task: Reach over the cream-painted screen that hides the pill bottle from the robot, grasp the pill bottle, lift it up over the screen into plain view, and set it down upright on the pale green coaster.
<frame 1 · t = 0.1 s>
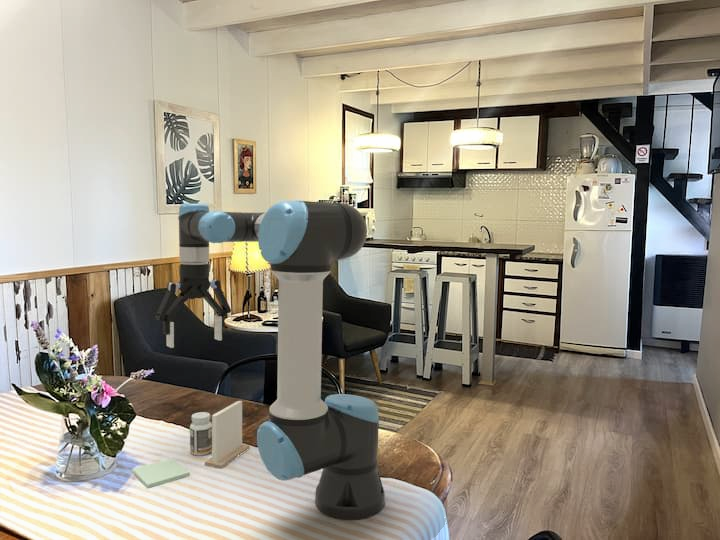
hand: (194, 343, 147), 28 cm above the table, fingers open, 13 cm apart
screen: (227, 456, 143), on the table
coaster: (160, 473, 133), on the table
pill bottle: (201, 452, 146), on the table
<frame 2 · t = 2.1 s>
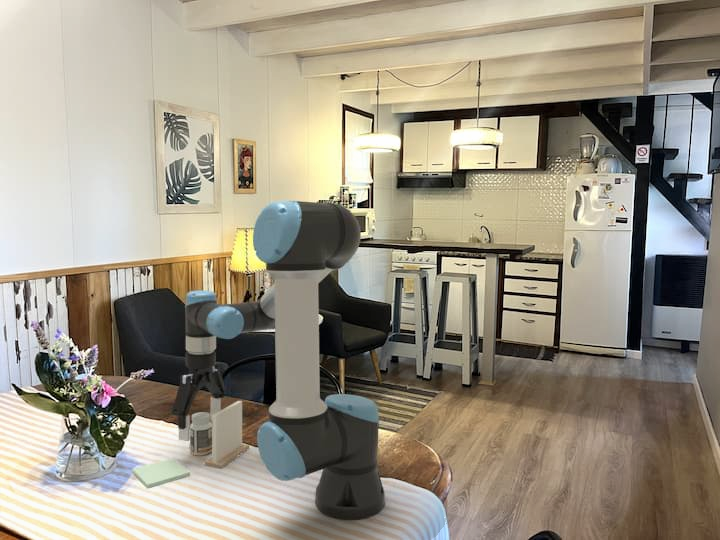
hand: (200, 430, 145), 6 cm above the table, fingers open, 13 cm apart
nothing on the table moved.
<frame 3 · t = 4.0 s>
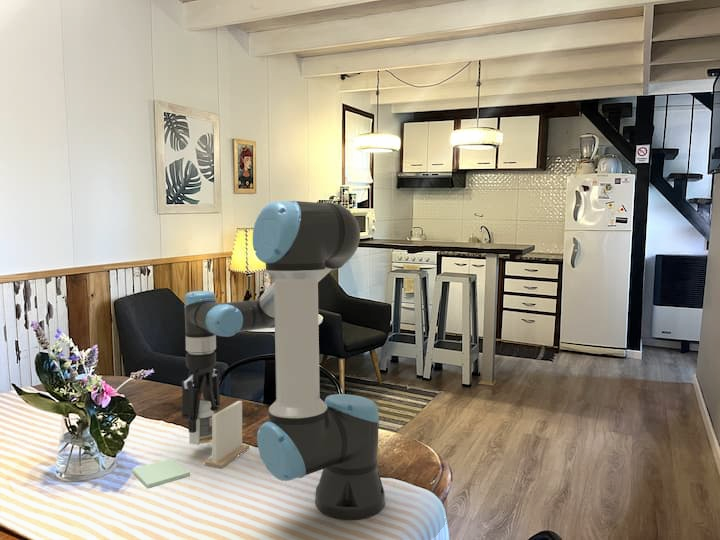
hand: (202, 438, 145), 4 cm above the table, fingers closed on pill bottle, 6 cm apart
pill bottle: (202, 441, 145), point 3 cm above the table, touching gripper
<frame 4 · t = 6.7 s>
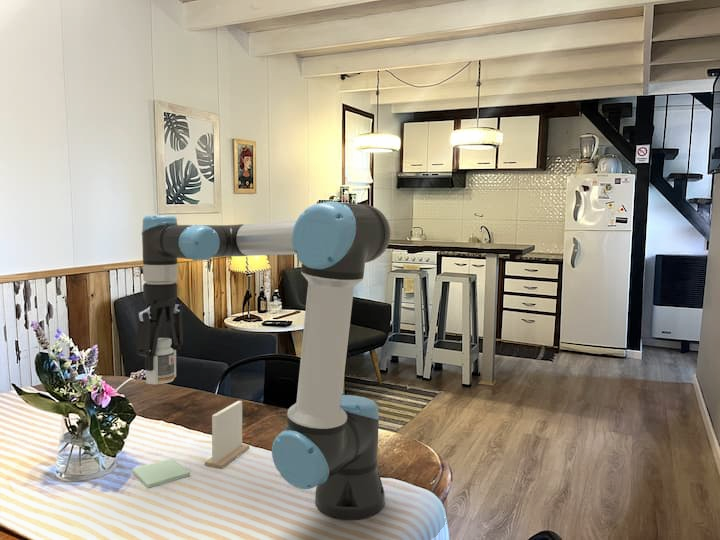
hand: (161, 379, 131), 23 cm above the table, fingers closed on pill bottle, 6 cm apart
pill bottle: (161, 381, 131), point 22 cm above the table, touching gripper
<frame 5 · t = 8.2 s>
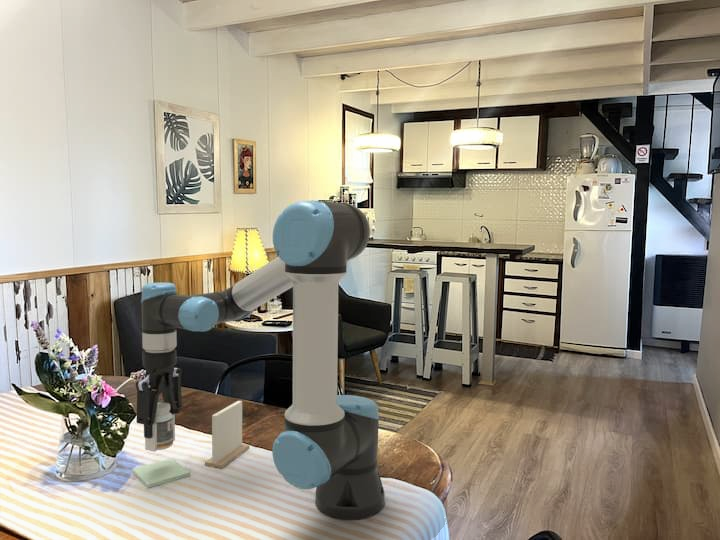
hand: (160, 444, 132), 7 cm above the table, fingers closed on pill bottle, 6 cm apart
pill bottle: (160, 446, 132), point 7 cm above the table, touching gripper
when the fingers open (2 cm above the table, at t = 9.5 s): pill bottle stays where it is, resting on coaster.
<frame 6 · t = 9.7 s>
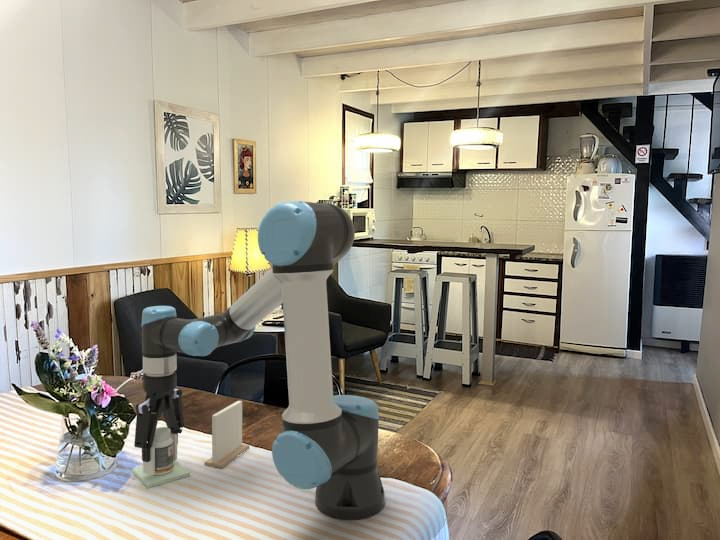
hand: (160, 466, 132), 2 cm above the table, fingers open, 7 cm apart
pill bottle: (160, 471, 133), point 1 cm above the table, touching coaster
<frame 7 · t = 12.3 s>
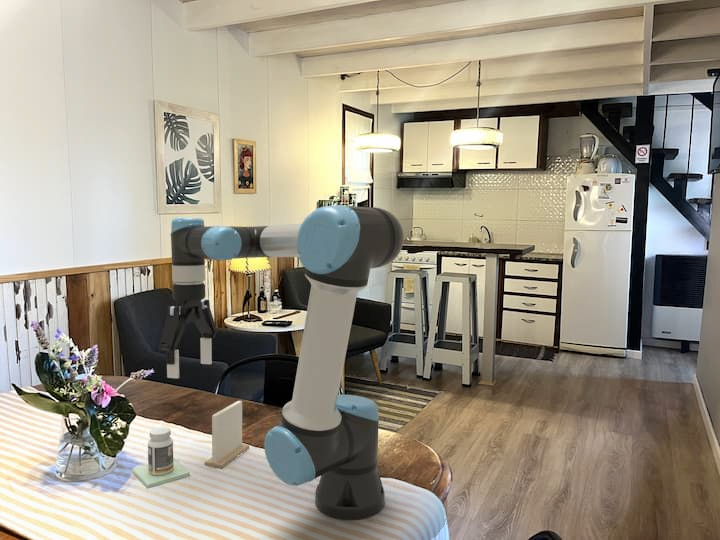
hand: (190, 370, 134), 24 cm above the table, fingers open, 13 cm apart
nothing on the table moved.
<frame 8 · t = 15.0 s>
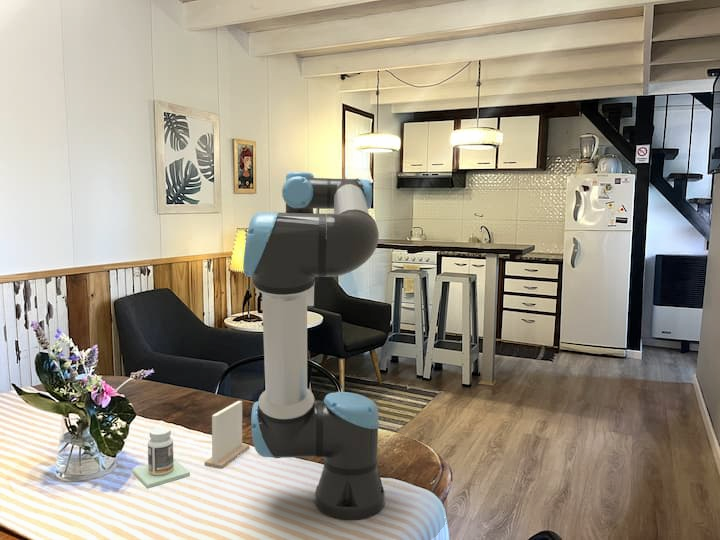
hand: (298, 309, 151), 37 cm above the table, fingers open, 13 cm apart
nothing on the table moved.
at the end: pill bottle 0.1 cm from the coaster (horizontally); pill bottle tilted 0°; pill bottle point 0.6 cm above the table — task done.
